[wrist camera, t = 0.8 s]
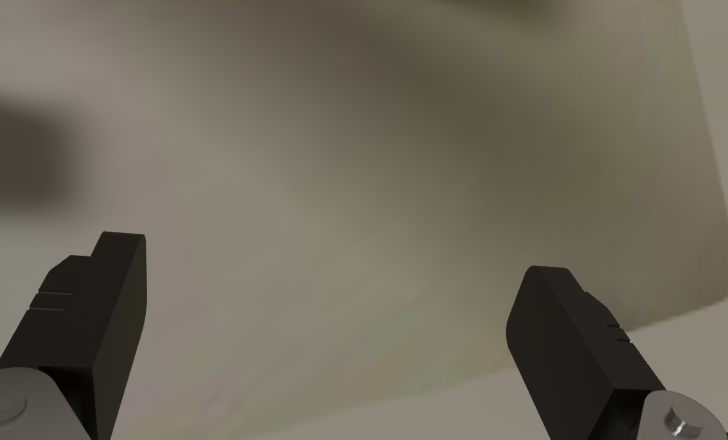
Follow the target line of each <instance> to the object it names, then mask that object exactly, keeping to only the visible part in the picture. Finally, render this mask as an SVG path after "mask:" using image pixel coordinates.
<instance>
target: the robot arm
mask: <svg viewBox="0 0 728 440" xmlns="http://www.w3.org/2000/svg"><path fill="white" fill-rule="evenodd" d="M146 306H147V271H146V239H145V235H144V234H132V233H119V232H106V231H104V232H103V233H102V234H101V236H100V238H99V240H98V242H97V244H96V246H95V248H94V250H93V252H92V254H91V256H76V255H70V256H69V257H67V258H66V259H65V260H63V261H62V262H61V263H59V264H58V265H57V266H55V267H54V268H52V269H51V270H50V271H49V272H48V274H47V276H46V278H45V279H44V281H43V283H42V285H41V286H40V288H39V292H38V294H36V295H35V297H34V299H33V301H32V302H31V304H30V308H29V310H27V311H26V313H25V315H24V317H23V318H22V320H21V322H20V324H19V325H18V327H17V329H16V331H15V333H14V334H13V336H12V338H11V340H10V341H9V343H8V345H7V347H6V349H5V350H4V352H3V354H2V356H1V357H0V440H110V438H111V435H112V432H113V428H114V425H115V421H116V418H117V415H118V411H119V408H120V404H121V401H122V398H123V394H124V391H125V388H126V384H127V381H128V377H129V374H130V371H131V367H132V364H133V361H134V357H135V354H136V350H137V347H138V344H139V340H140V337H141V334H142V330H143V326H144V321H145V315H146ZM619 326H620V325H619V324H618V322H617V321H616V319H615V318H614V317H613V315H612V314H611V312H610V311H609V310H608V308H607V307H606V306H604V305H603V304H602V303H601V302H599V301H598V300H597V299H596V298H594V297H593V296H592V295H591V294H589V293H588V292H584V291H583V289H582V288H581V287H580V285H579V284H578V282H577V281H576V279H575V278H574V276H573V275H572V274H571V272H570V271H569V270H568V269H566V268H559V267H546V266H531V267H529V268H528V270H527V271H526V273H525V275H524V278H523V281H522V283H521V286H520V289H519V291H518V294H517V297H516V299H515V302H514V304H513V307H512V310H511V312H510V315H509V318H508V321H507V326H506V339H507V344H508V348H509V350H510V352H511V354H512V356H513V359H514V361H515V363H516V365H517V367H518V370H519V372H520V374H521V376H522V378H523V380H524V383H525V385H526V387H527V389H528V391H529V393H530V395H531V398H532V400H533V402H534V404H535V406H536V409H537V411H538V413H539V415H540V417H541V419H542V422H543V424H544V426H545V428H546V430H547V432H548V435H549V437H550V439H551V440H728V433H727V432H725V429H724V428H723V426H722V425H721V423H720V422H719V420H718V419H717V418H716V417H715V416H714V415H713V414H712V413H711V412H710V411H709V410H708V409H706V408H705V407H703V405H701V404H700V403H698V402H696V401H695V400H693V399H691V398H689V397H687V396H685V395H682V394H679V393H676V392H672V391H667V390H666V389H665V387H664V386H663V385H662V383H661V382H660V380H659V379H658V378H657V376H656V375H655V373H654V372H653V371H652V369H651V368H650V367H649V365H648V364H647V363H646V361H645V360H644V359H643V357H642V355H641V354H640V353H639V351H638V350H637V349H636V347H635V346H634V344H633V343H630V339H629V337H628V336H627V335H626V333H625V332H624V330H623V329H620V327H619Z"/></svg>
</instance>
